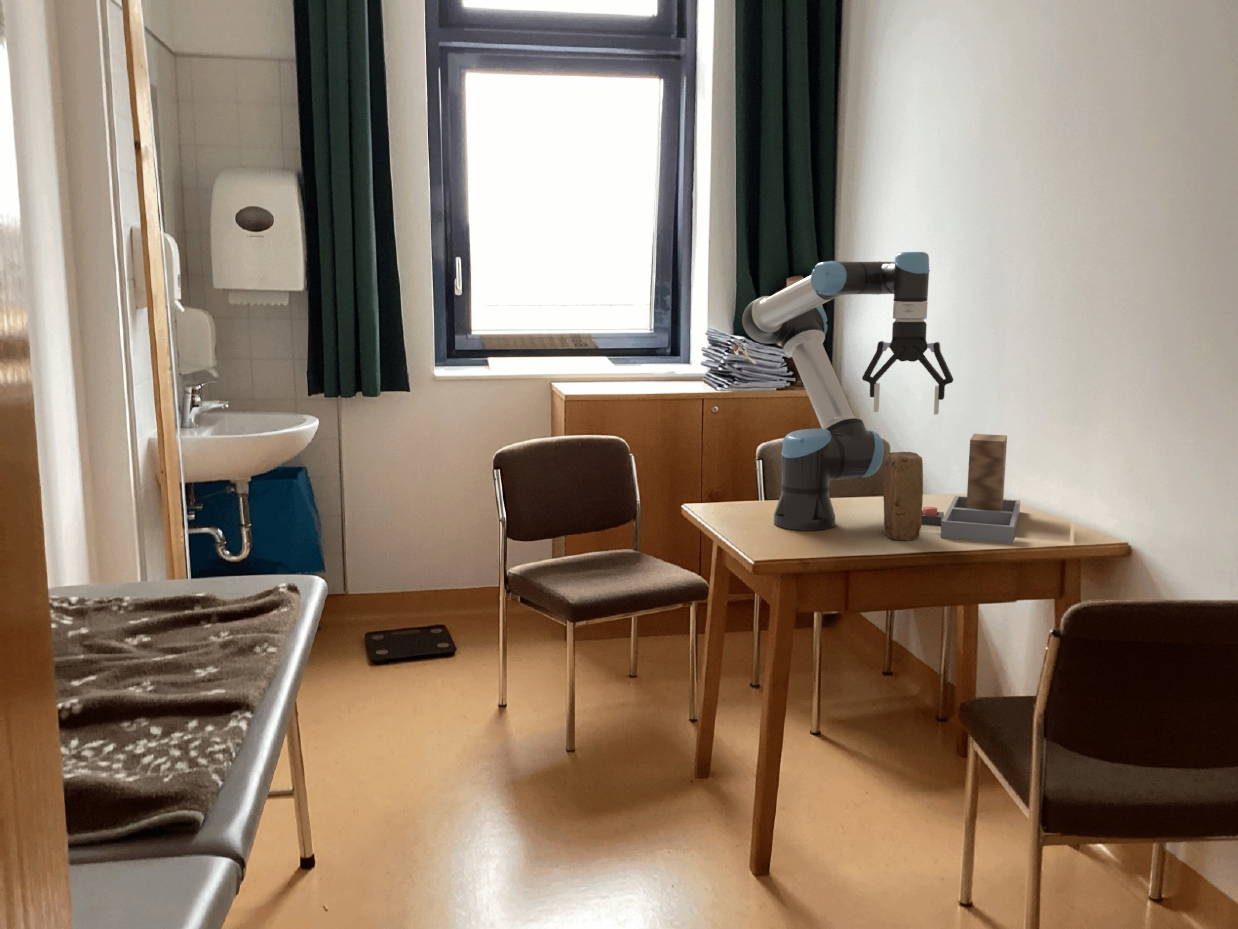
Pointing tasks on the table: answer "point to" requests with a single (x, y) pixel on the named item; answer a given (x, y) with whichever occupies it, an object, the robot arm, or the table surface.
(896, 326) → the robot arm
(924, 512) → the button
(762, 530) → the table surface
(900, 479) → the block
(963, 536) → the gray divided tray
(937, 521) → the button housing
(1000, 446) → the seated billet
